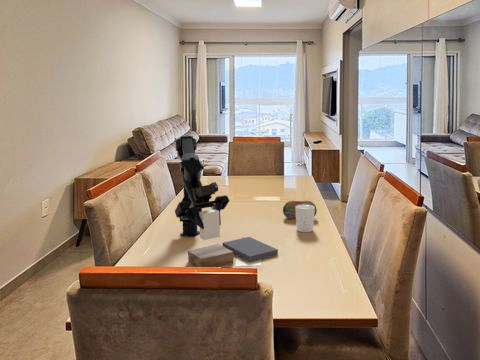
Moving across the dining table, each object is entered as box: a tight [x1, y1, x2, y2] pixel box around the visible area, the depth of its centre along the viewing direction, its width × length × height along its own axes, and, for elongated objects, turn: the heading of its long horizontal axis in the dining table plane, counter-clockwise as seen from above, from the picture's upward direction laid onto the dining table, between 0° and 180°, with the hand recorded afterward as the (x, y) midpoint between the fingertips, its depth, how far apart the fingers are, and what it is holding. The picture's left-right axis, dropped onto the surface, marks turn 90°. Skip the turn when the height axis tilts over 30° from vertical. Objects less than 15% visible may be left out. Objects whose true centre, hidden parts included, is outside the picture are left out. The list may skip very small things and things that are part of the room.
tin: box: [282, 200, 318, 220], centre depth 206 cm, size 15×3×8 cm, turn 80°
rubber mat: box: [222, 236, 279, 263], centre depth 166 cm, size 18×12×2 cm, turn 33°
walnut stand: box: [187, 243, 234, 268], centre depth 155 cm, size 10×12×4 cm
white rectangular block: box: [199, 209, 221, 241], centre depth 153 cm, size 3×6×9 cm, turn 123°
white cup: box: [295, 205, 315, 233], centre depth 189 cm, size 8×8×10 cm
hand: (211, 226), depth 152 cm, fingers closed on white rectangular block, 6 cm apart
